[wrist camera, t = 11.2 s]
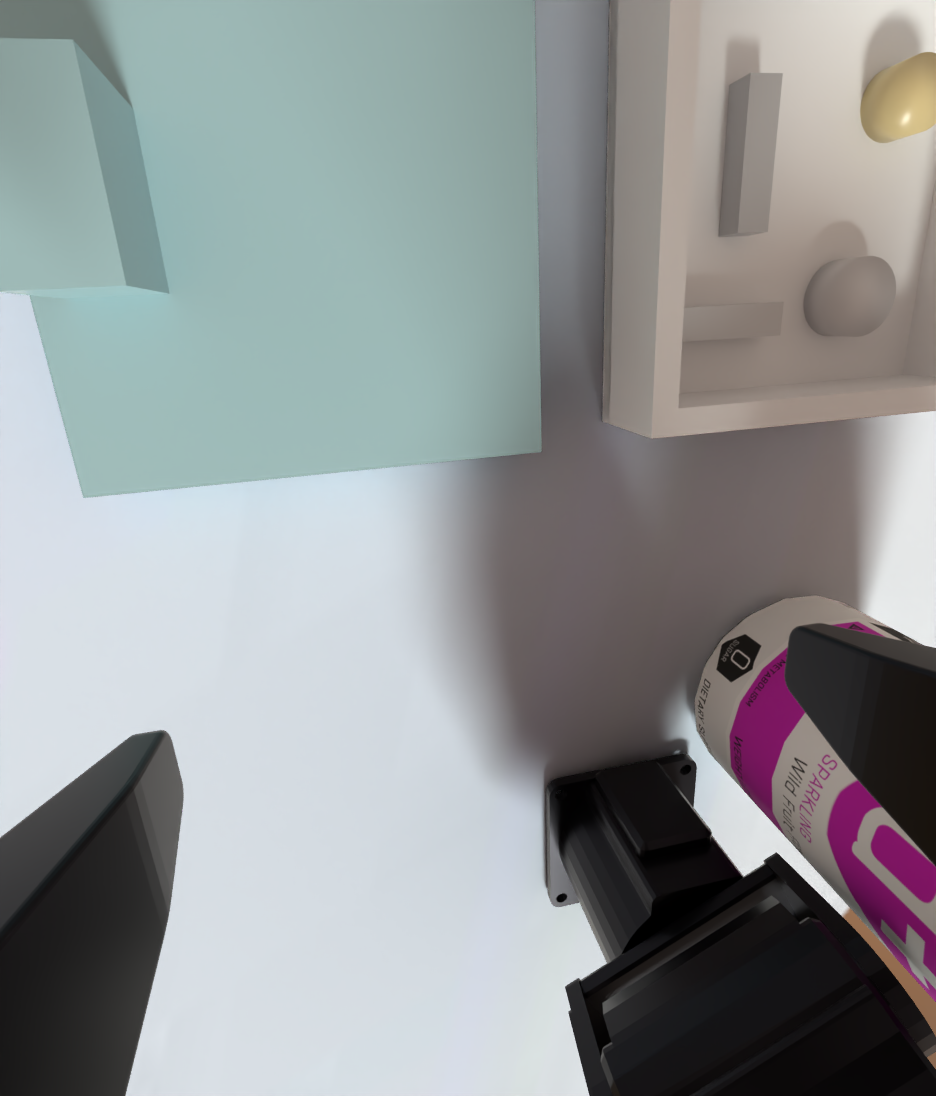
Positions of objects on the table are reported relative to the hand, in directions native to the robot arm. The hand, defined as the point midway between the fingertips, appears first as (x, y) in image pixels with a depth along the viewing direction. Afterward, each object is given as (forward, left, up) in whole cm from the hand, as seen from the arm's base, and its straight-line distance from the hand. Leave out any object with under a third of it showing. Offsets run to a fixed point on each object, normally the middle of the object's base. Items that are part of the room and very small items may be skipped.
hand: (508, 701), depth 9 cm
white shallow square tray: (+8, -13, -13) cm, 20 cm away
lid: (+8, +2, -12) cm, 15 cm away
